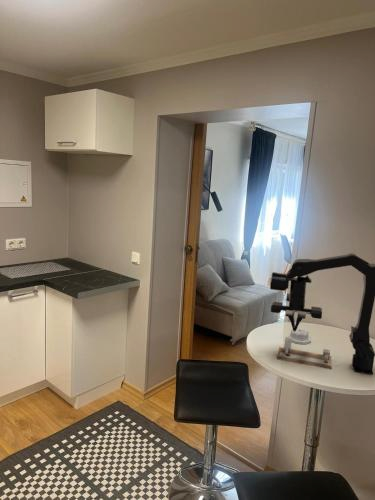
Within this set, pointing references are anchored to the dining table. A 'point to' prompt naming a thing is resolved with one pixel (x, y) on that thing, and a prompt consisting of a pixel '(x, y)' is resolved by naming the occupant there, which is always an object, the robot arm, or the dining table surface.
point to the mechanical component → (300, 336)
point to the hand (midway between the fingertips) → (294, 331)
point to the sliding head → (287, 345)
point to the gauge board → (306, 357)
